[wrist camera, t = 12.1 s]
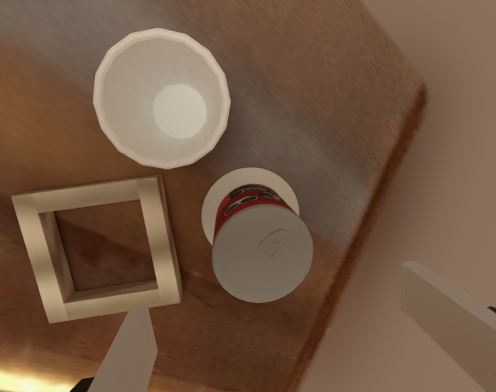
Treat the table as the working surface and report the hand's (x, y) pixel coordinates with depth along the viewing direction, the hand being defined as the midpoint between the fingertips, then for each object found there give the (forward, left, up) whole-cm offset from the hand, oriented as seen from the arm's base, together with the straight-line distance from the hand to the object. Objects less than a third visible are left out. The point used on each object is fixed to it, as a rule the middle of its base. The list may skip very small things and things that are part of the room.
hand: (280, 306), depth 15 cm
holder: (+1, -16, -19) cm, 25 cm away
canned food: (0, 0, -18) cm, 18 cm away
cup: (-12, -6, -19) cm, 23 cm away
